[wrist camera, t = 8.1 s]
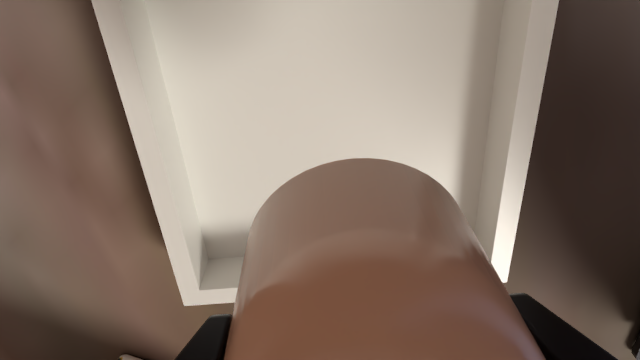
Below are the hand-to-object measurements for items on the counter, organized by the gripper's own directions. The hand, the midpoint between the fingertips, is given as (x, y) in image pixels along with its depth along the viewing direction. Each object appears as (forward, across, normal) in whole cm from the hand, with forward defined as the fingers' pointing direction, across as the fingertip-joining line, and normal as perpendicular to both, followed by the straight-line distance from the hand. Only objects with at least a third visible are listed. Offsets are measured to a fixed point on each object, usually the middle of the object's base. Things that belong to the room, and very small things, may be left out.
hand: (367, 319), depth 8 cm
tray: (+10, 0, 0) cm, 10 cm away
